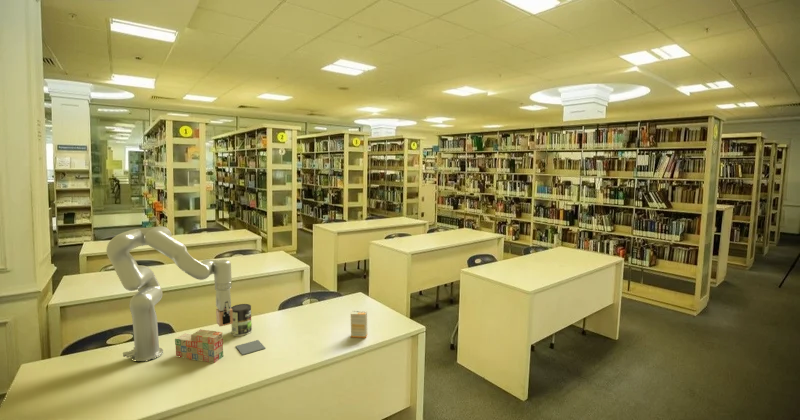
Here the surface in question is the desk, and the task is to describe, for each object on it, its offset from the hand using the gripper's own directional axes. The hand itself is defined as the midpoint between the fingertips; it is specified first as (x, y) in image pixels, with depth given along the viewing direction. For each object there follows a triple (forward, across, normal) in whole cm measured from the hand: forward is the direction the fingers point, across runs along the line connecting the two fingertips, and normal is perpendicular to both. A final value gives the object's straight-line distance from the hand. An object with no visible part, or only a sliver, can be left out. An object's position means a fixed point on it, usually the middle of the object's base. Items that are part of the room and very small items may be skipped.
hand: (224, 320), depth 186 cm
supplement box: (+14, +28, +60) cm, 68 cm away
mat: (+14, +6, +10) cm, 19 cm away
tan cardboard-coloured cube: (+1, 0, 0) cm, 1 cm away
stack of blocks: (+15, +1, -12) cm, 19 cm away
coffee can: (+15, -15, +12) cm, 24 cm away
